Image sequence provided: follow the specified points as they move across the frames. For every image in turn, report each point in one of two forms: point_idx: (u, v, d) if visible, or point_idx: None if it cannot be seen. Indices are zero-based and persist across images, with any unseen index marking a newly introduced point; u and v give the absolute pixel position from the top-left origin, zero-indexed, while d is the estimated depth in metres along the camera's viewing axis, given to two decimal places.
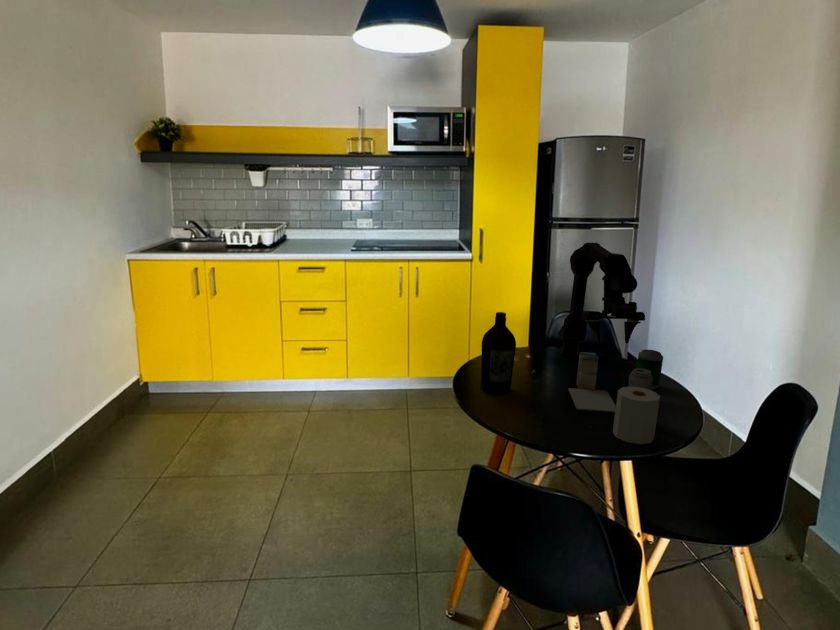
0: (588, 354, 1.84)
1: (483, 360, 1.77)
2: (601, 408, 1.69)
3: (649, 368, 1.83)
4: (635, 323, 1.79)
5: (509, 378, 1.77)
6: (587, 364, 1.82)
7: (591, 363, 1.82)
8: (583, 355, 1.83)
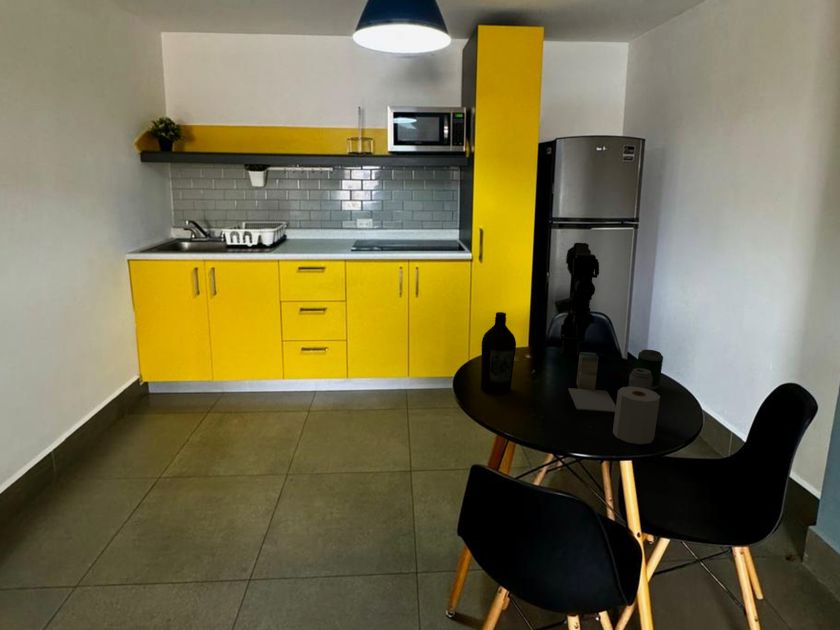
0: (588, 354, 1.84)
1: (483, 360, 1.77)
2: (601, 408, 1.69)
3: (649, 368, 1.83)
4: (573, 321, 1.91)
5: (509, 378, 1.77)
6: (587, 364, 1.82)
7: (591, 363, 1.82)
8: (583, 355, 1.83)
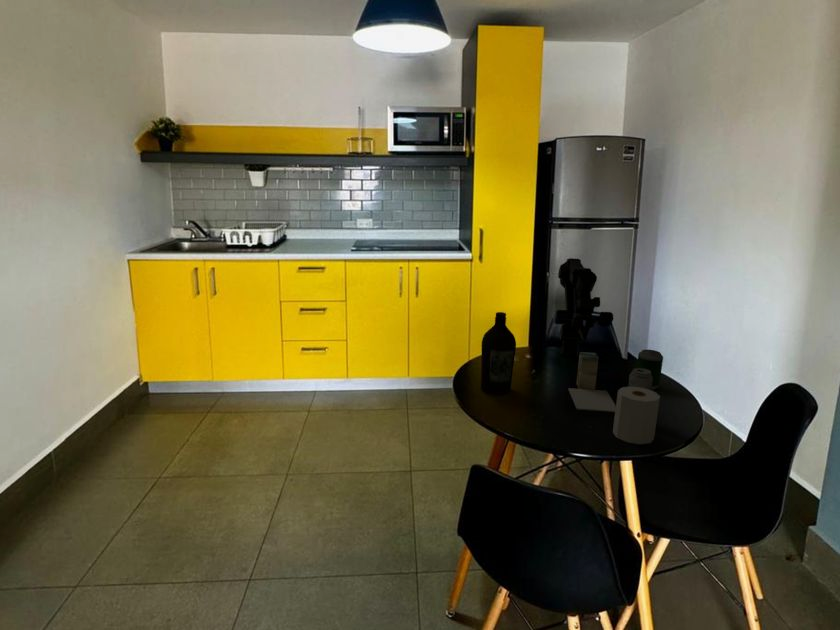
0: (588, 354, 1.84)
1: (483, 360, 1.77)
2: (601, 408, 1.69)
3: (649, 368, 1.83)
4: (590, 319, 1.92)
5: (509, 378, 1.77)
6: (587, 364, 1.82)
7: (591, 363, 1.82)
8: (583, 355, 1.83)
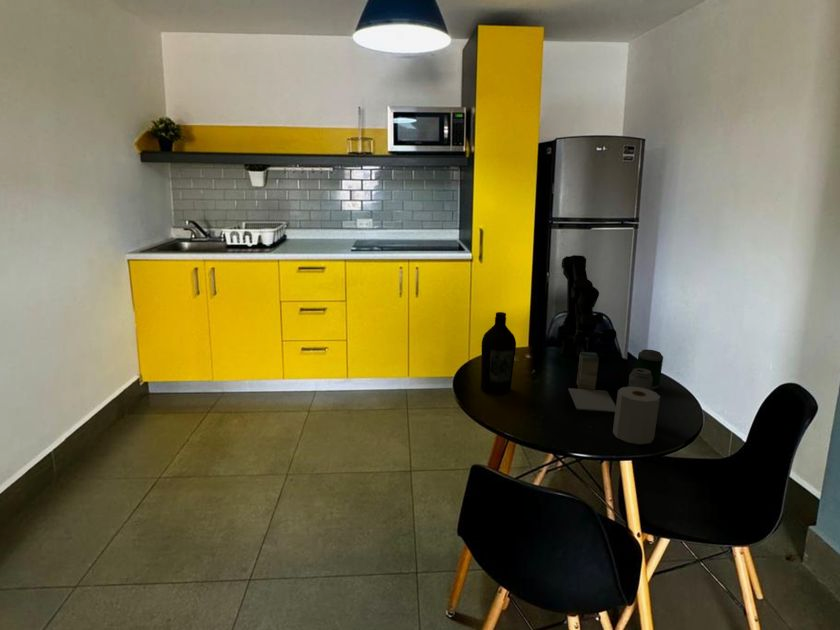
0: (588, 354, 1.84)
1: (483, 360, 1.77)
2: (601, 408, 1.69)
3: (649, 368, 1.83)
4: (593, 336, 1.87)
5: (509, 378, 1.77)
6: (587, 364, 1.82)
7: (591, 363, 1.81)
8: (583, 355, 1.82)
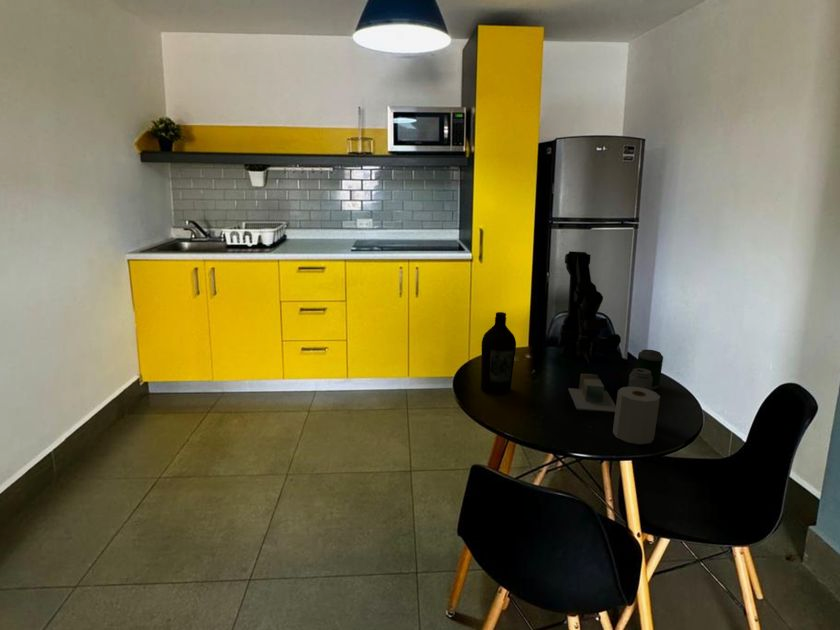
0: (594, 392, 1.73)
1: (483, 360, 1.77)
2: (601, 408, 1.69)
3: (649, 368, 1.83)
4: (596, 342, 1.82)
5: (509, 378, 1.77)
6: None
7: None
8: (587, 396, 1.73)
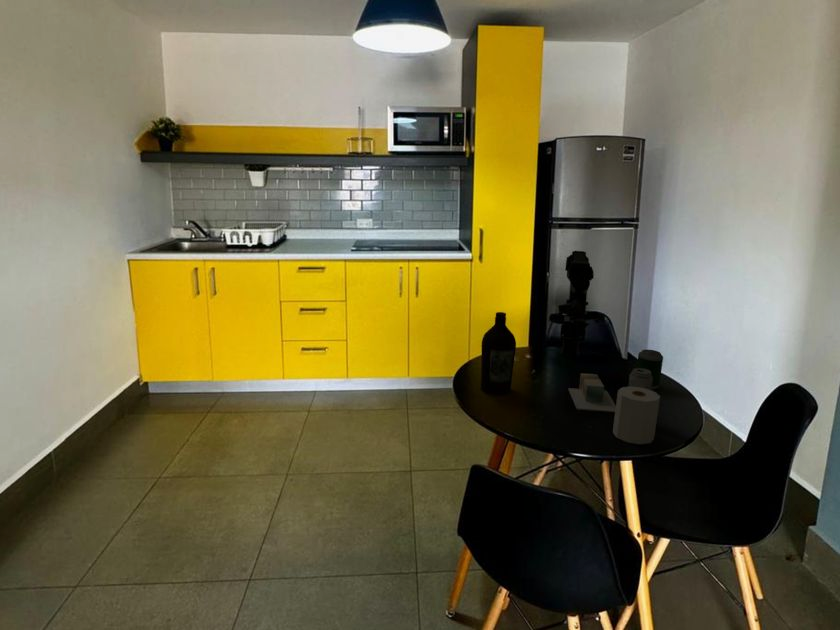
0: (594, 392, 1.73)
1: (483, 360, 1.77)
2: (601, 408, 1.69)
3: (649, 368, 1.83)
4: (576, 322, 1.93)
5: (509, 378, 1.77)
6: None
7: None
8: (587, 396, 1.73)
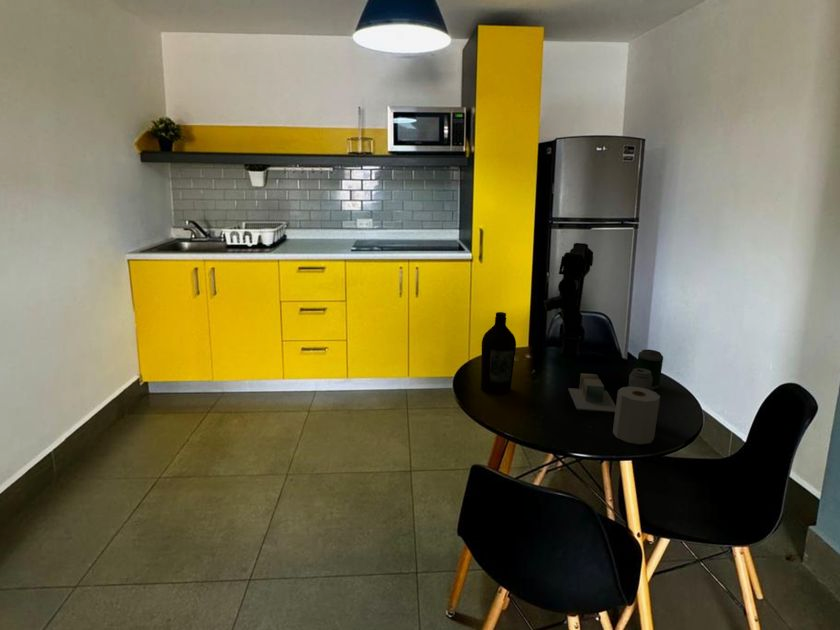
0: (594, 392, 1.73)
1: (483, 360, 1.77)
2: (601, 408, 1.69)
3: (649, 368, 1.83)
4: None
5: (509, 378, 1.77)
6: None
7: None
8: (587, 396, 1.73)
